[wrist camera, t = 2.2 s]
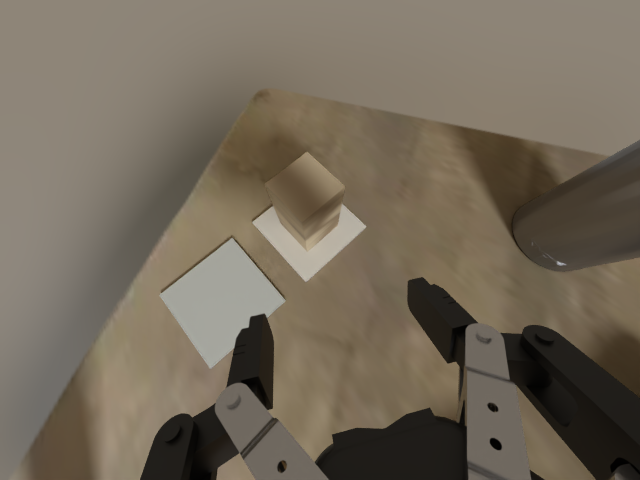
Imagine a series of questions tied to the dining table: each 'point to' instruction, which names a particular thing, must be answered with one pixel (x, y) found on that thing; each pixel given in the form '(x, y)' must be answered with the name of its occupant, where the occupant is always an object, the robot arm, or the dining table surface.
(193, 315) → the rest pad
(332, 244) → the tile
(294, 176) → the beech block
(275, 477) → the robot arm
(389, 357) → the dining table surface
